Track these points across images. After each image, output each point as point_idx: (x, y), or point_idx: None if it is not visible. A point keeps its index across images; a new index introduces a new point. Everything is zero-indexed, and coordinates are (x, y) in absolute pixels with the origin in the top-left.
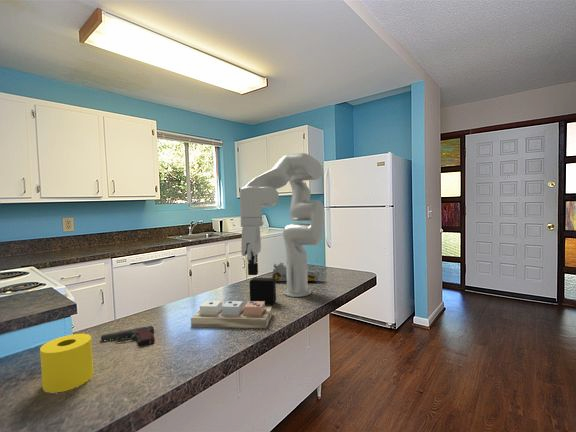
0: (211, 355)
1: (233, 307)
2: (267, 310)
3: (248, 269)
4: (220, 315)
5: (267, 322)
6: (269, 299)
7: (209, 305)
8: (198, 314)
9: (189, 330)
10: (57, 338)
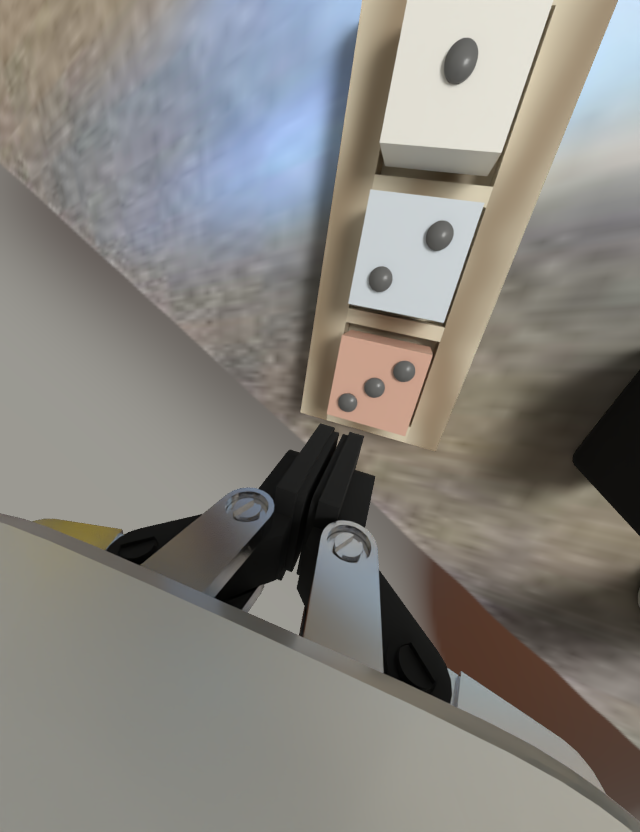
0: (144, 239)
1: (354, 273)
2: None
3: (301, 451)
4: None
5: None
6: (597, 456)
7: (413, 69)
8: None
9: (324, 33)
10: None
